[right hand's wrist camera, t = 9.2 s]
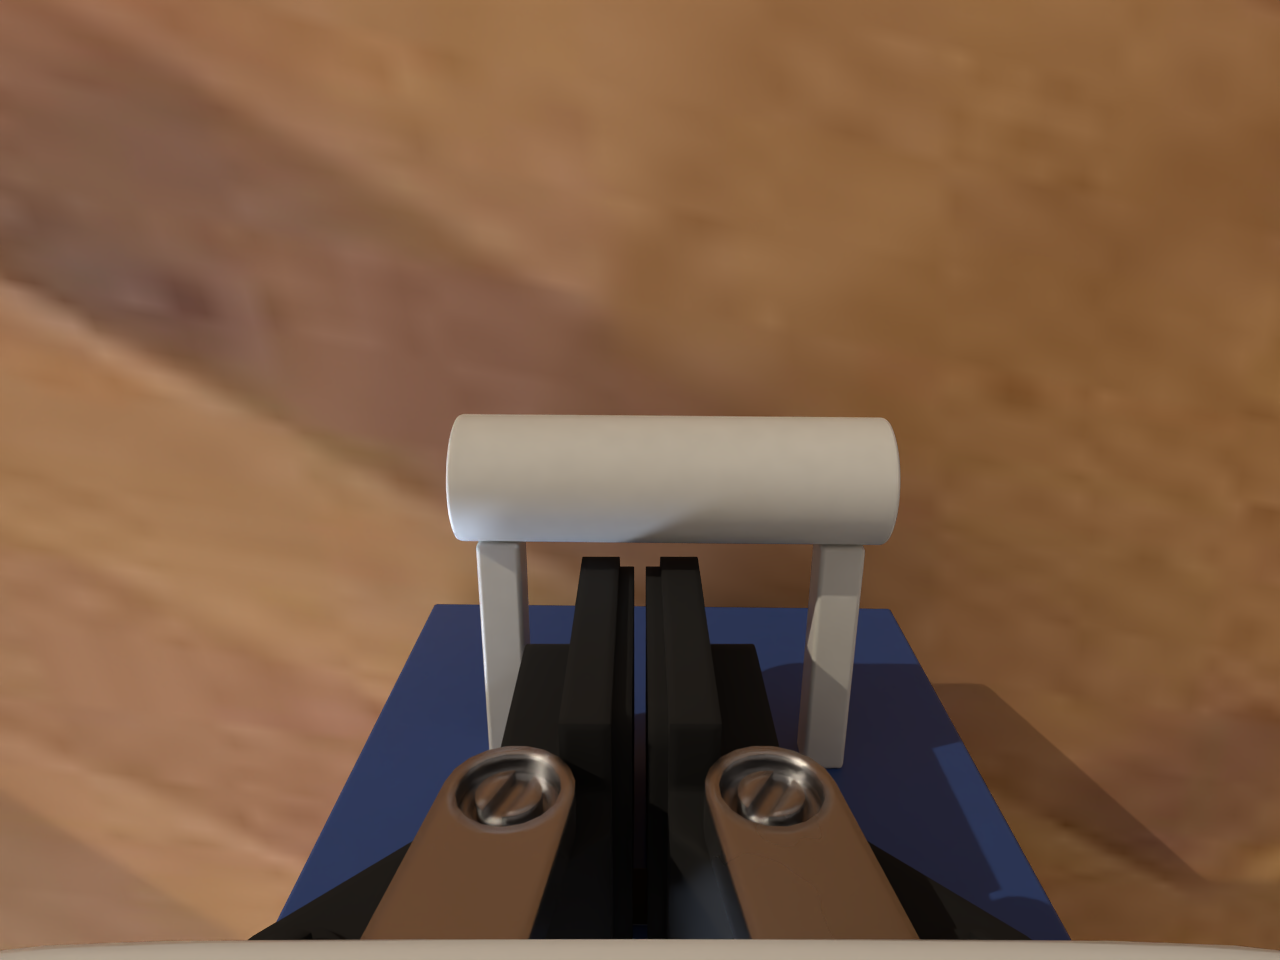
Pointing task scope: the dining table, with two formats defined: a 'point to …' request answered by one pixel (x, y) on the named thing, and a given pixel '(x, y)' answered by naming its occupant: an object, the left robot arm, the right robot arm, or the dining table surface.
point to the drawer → (783, 637)
